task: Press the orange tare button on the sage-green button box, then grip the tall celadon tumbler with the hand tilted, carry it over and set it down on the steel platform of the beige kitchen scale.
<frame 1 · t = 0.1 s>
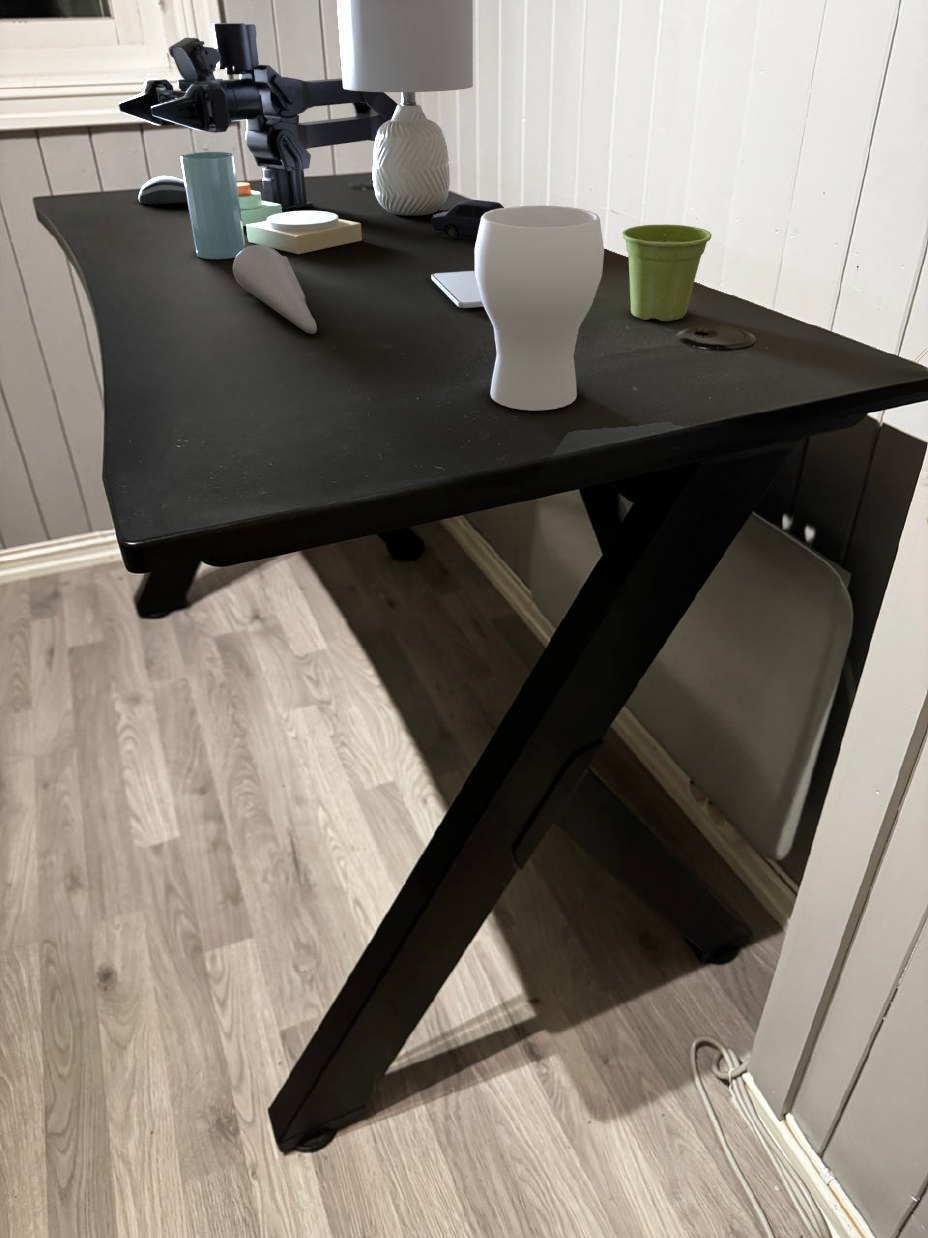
hand: (135, 109, 133), 17 cm above the table, tool horizontal, fingers open, 9 cm apart
computer mouse: (174, 201, 163), on the table
cup: (533, 397, 81), on the table
toy car: (480, 239, 136), on the table
long tapered cone: (277, 316, 103), on the table
plant pot: (657, 316, 102), on the table
tare button: (239, 190, 145), point 4 cm above the table, slide at 0.1 cm
lamp: (412, 213, 152), on the table
button box: (243, 220, 148), on the table
smartphone: (473, 292, 110), on the table
scale: (305, 241, 134), on the table
tumbler: (221, 253, 128), on the table
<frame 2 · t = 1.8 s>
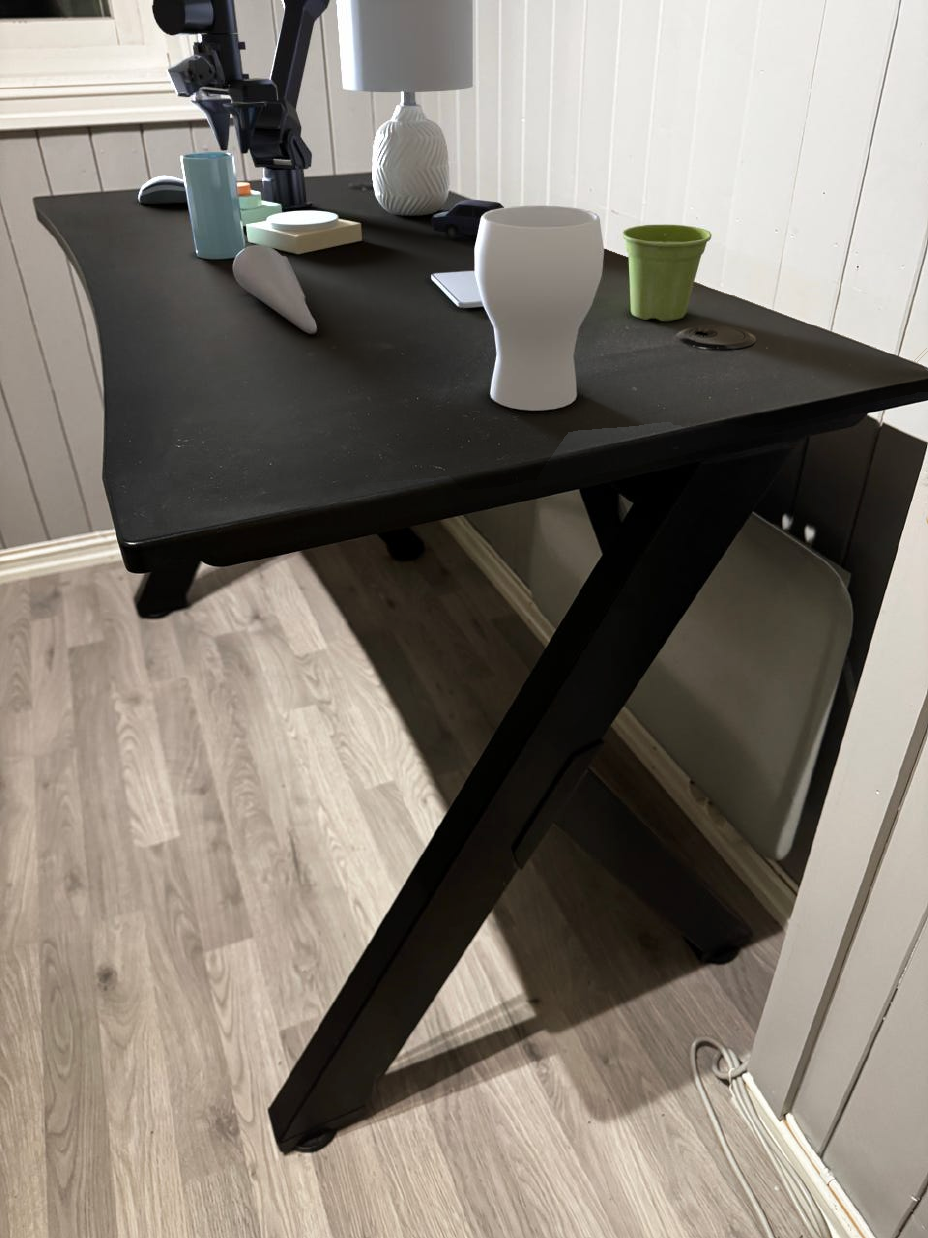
hand: (234, 151, 142), 10 cm above the table, tool pointing down, fingers open, 5 cm apart
nothing on the table moved.
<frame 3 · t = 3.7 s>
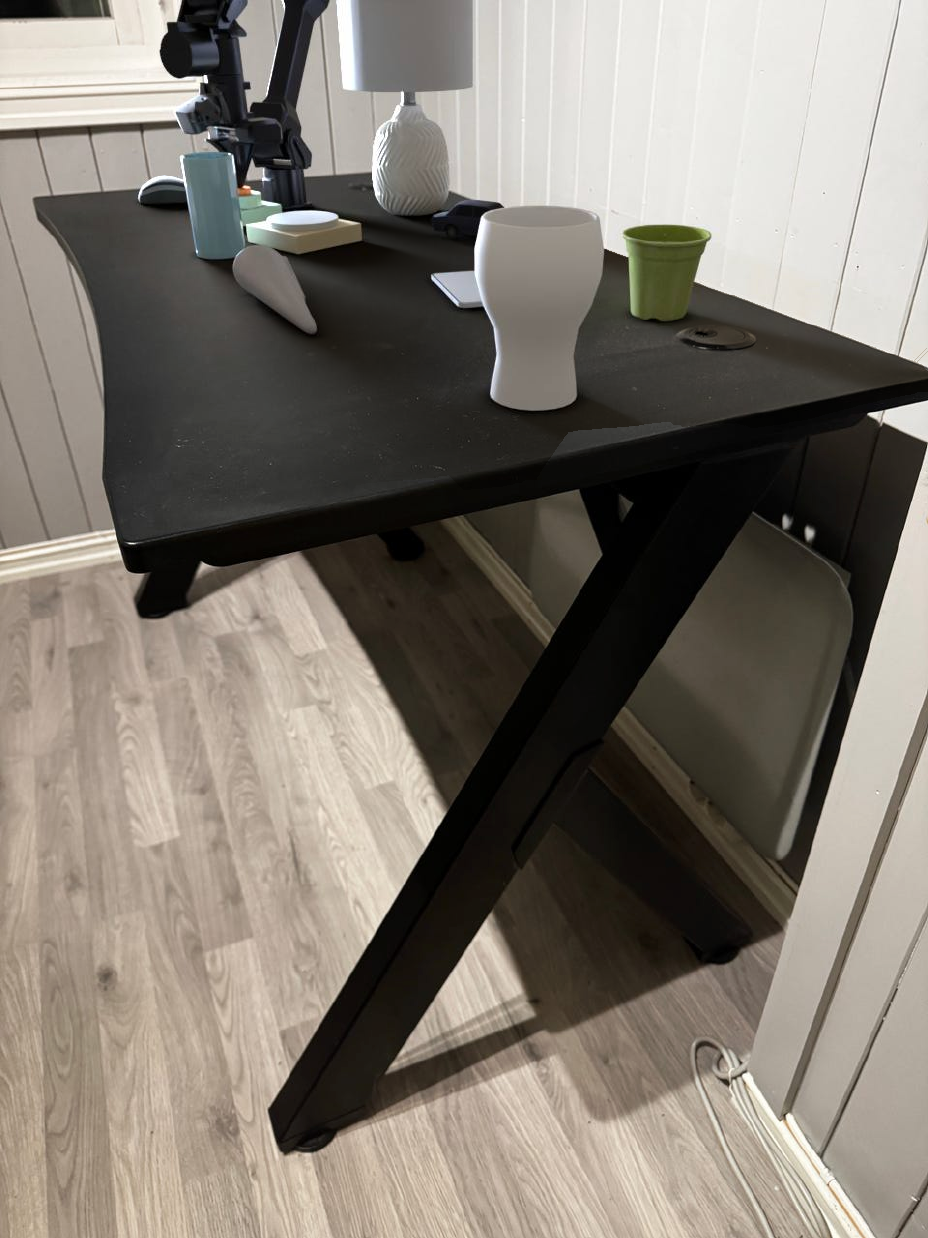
hand: (239, 187, 145), 5 cm above the table, tool pointing down, fingers closed, pressing on tare button
tare button: (239, 193, 145), point 4 cm above the table, slide at -0.4 cm, touching gripper
everything else where it was.
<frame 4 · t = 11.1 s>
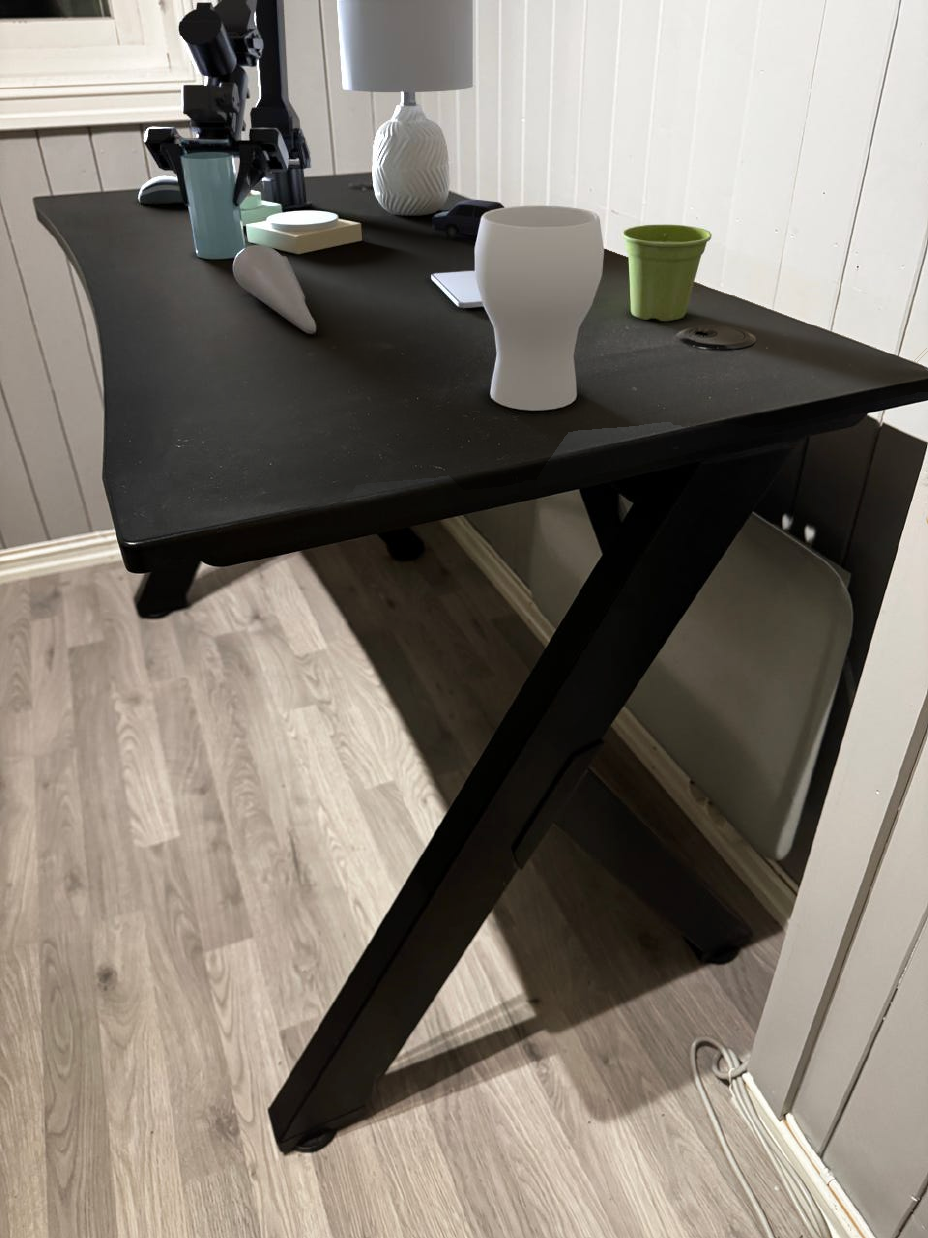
hand: (210, 203, 123), 7 cm above the table, tool tilted 45°, fingers closed on tumbler, 7 cm apart
tare button: (239, 190, 145), point 4 cm above the table, slide at 0.1 cm
tumbler: (221, 253, 128), on the table, touching gripper
everything else where it was.
when the fingers open (10 cm above the table, at t = 16.6 s): tumbler stays where it is, resting on scale.
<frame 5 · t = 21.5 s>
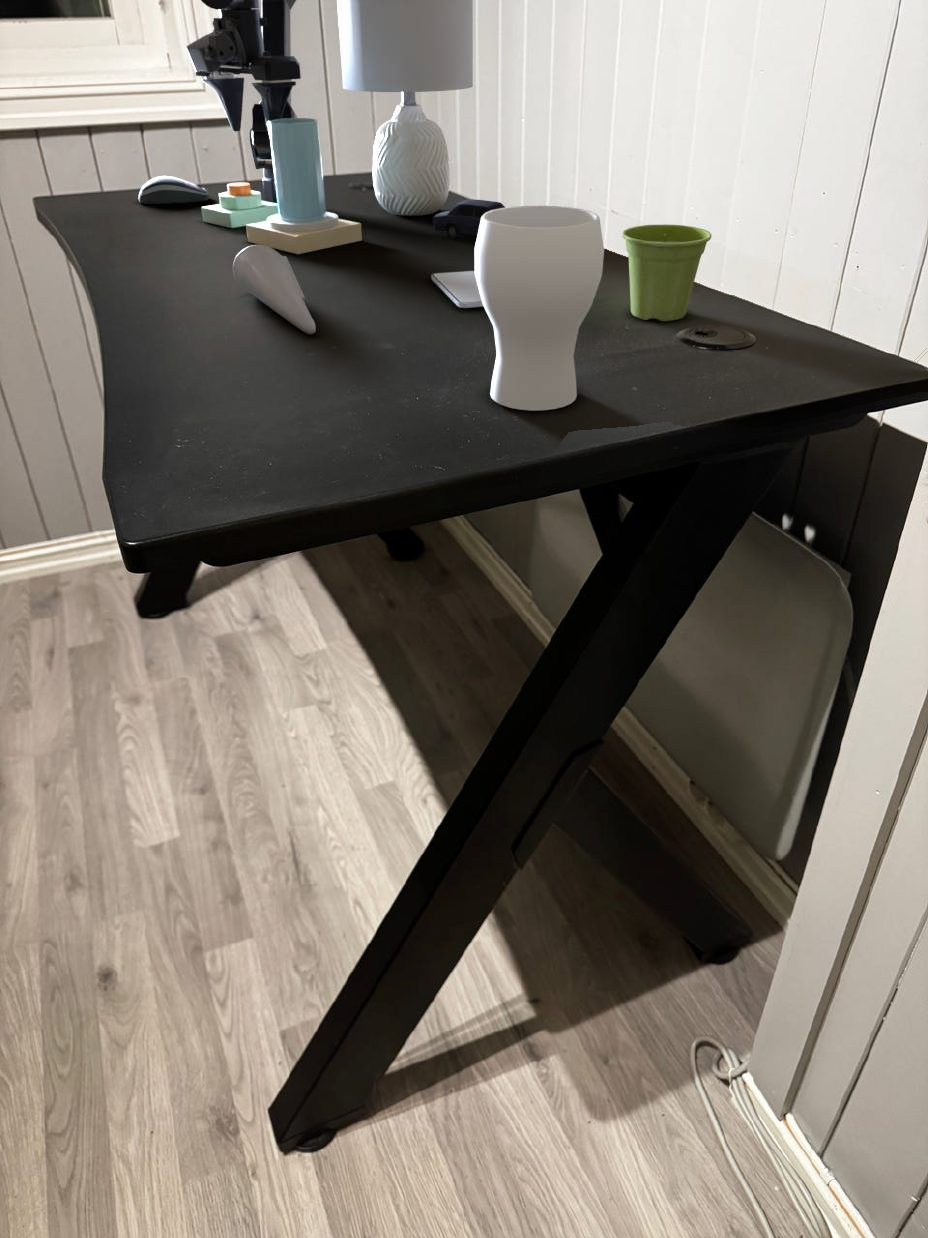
hand: (254, 133, 137), 13 cm above the table, tool pointing down, fingers open, 9 cm apart
tumbler: (302, 217, 133), point 3 cm above the table, touching scale
everything else where it was.
at the end: tare button pushed in 1.2 cm at the most during the clip, back to where it started at the end; tumbler inside the target area on the scale (0.0 cm from its centre), point 3.3 cm above the scale's base; tumbler tilted 0° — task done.
